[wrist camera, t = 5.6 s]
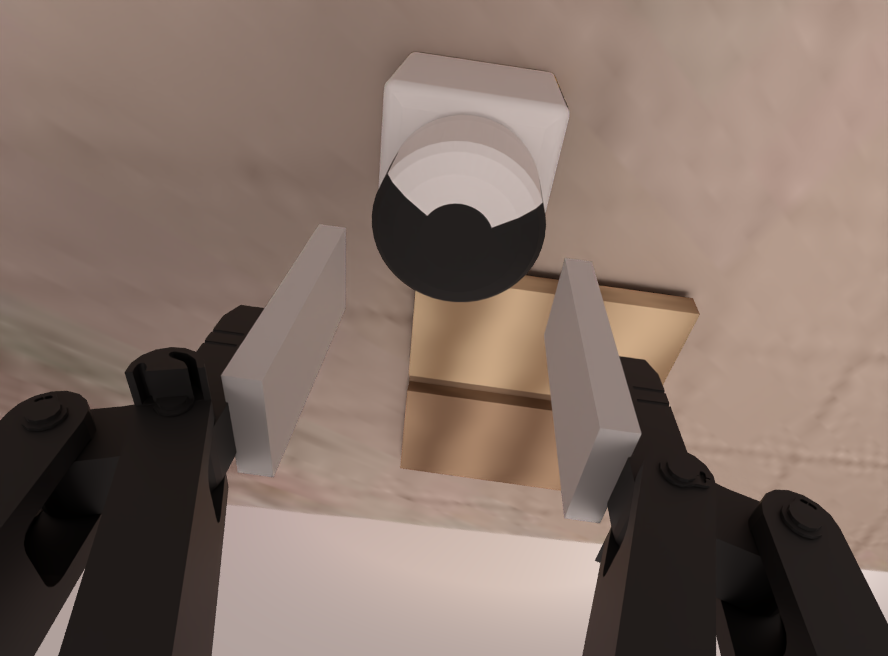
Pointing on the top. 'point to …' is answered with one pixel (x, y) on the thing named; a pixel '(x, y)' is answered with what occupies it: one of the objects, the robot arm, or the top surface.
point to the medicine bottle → (465, 174)
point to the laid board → (480, 433)
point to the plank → (536, 334)
